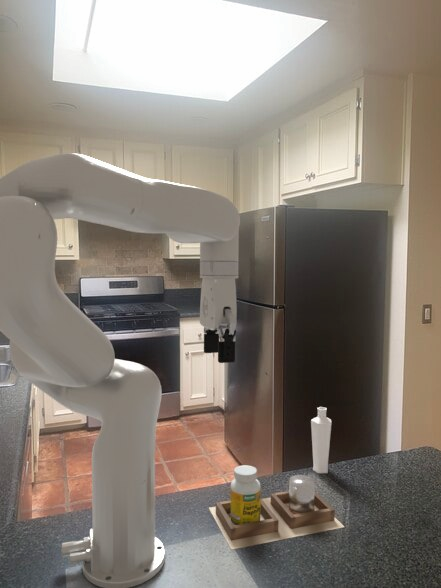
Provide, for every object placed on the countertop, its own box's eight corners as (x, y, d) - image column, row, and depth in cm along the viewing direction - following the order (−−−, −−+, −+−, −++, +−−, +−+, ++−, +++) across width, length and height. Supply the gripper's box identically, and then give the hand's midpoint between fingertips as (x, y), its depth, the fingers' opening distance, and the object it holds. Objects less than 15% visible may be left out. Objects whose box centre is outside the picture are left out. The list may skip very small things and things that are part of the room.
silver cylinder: (295, 521, 80) (296, 488, 79) (284, 507, 84) (284, 476, 84) (319, 516, 81) (319, 484, 81) (306, 503, 86) (307, 473, 85)
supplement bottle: (248, 511, 83) (248, 460, 82) (266, 525, 78) (267, 471, 78) (224, 520, 80) (224, 467, 79) (242, 535, 75) (242, 479, 75)
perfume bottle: (323, 481, 97) (325, 413, 96) (307, 474, 100) (308, 408, 99) (335, 474, 100) (337, 409, 99) (319, 468, 103) (321, 404, 102)
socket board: (231, 555, 72) (231, 537, 71) (208, 512, 84) (208, 497, 84) (344, 532, 78) (345, 515, 78) (308, 496, 90) (308, 481, 90)
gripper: (189, 270, 95) (189, 350, 96) (213, 271, 78) (213, 368, 79) (223, 270, 97) (222, 348, 98) (253, 271, 80) (252, 365, 82)
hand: (218, 357), depth 89 cm, fingers open, 9 cm apart
